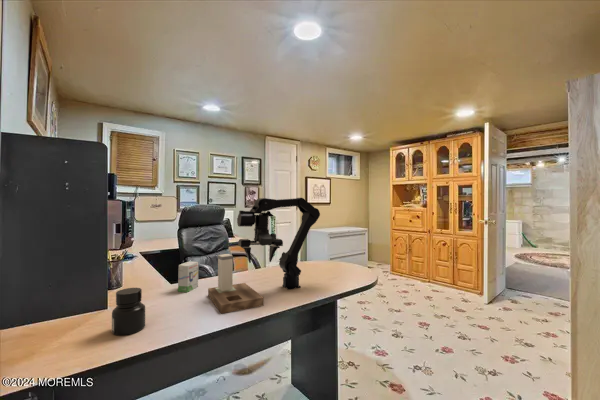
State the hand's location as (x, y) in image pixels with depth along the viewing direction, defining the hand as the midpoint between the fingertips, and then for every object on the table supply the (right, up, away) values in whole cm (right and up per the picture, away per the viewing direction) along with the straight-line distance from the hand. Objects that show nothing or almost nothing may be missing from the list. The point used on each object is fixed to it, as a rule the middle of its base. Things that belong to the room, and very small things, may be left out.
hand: (260, 262), depth 123 cm
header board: (-9, -13, -10) cm, 19 cm away
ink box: (-33, -13, +4) cm, 36 cm away
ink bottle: (-36, -13, -36) cm, 52 cm away
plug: (-14, -10, -5) cm, 18 cm away
